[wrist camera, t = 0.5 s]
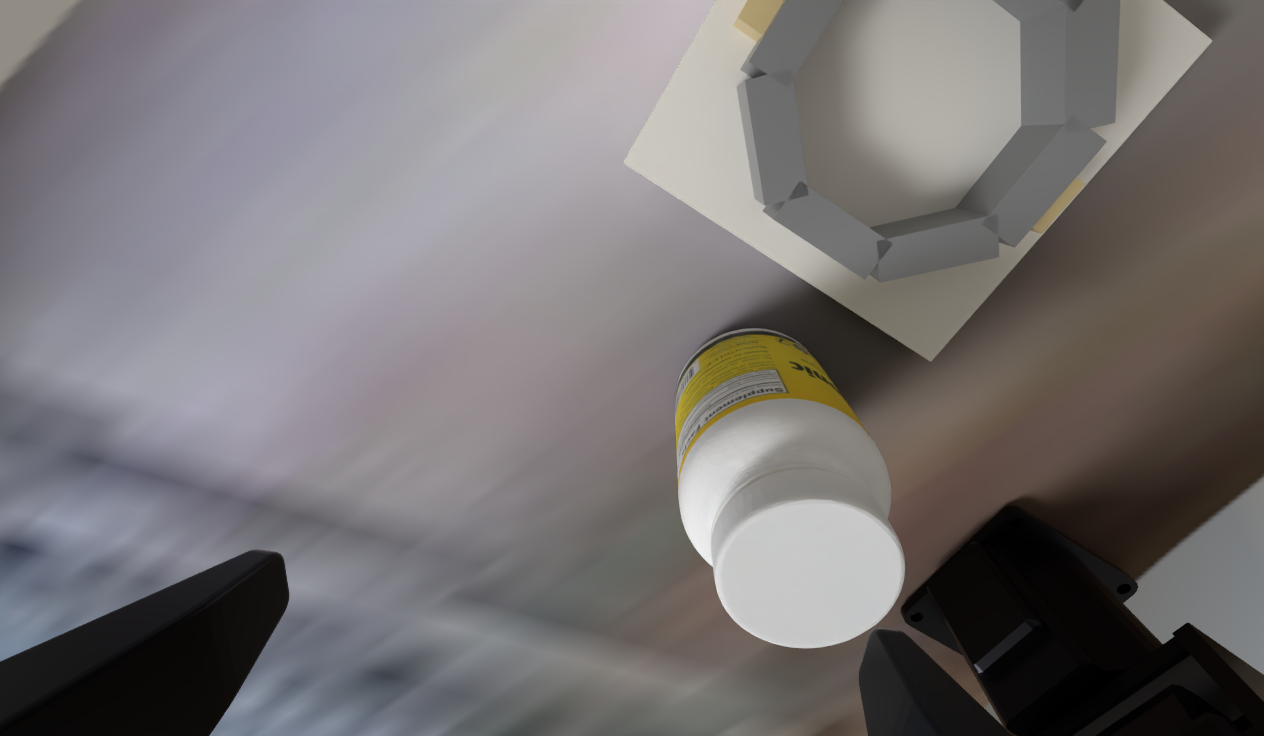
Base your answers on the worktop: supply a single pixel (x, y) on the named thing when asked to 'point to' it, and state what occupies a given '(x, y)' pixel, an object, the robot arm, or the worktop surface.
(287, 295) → the worktop surface
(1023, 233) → the socket base
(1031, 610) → the robot arm
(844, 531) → the supplement bottle
